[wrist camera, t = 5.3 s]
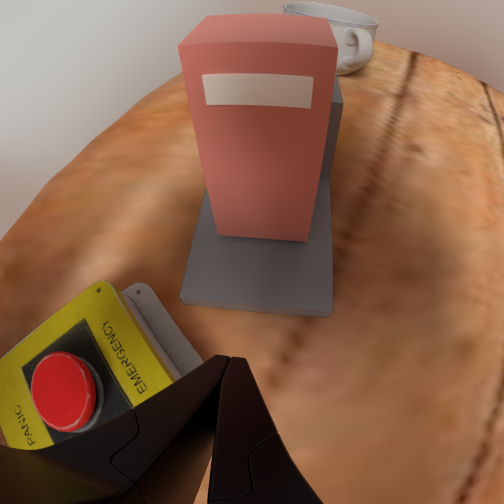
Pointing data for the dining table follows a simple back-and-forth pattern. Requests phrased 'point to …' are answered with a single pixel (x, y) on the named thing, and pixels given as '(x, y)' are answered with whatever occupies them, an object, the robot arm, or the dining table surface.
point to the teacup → (342, 32)
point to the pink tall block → (261, 117)
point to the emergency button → (90, 365)
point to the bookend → (268, 257)
